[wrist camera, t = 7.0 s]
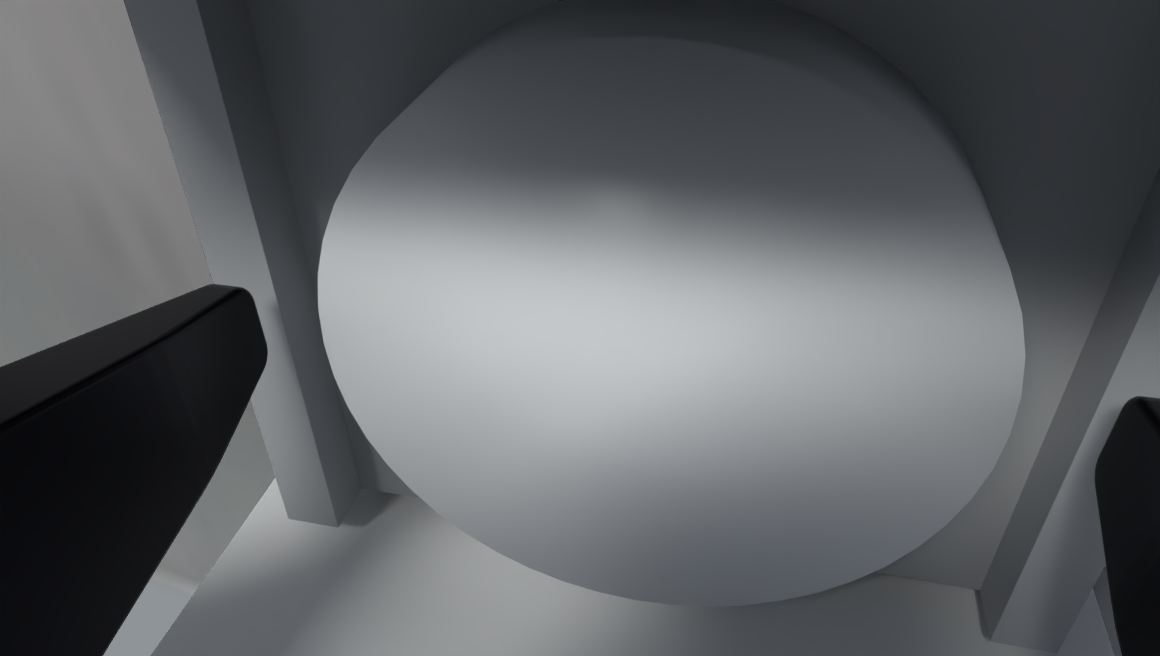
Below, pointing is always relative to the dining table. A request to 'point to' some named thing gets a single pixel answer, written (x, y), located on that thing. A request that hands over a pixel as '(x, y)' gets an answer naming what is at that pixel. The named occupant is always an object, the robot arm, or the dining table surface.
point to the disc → (676, 302)
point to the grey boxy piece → (606, 622)
